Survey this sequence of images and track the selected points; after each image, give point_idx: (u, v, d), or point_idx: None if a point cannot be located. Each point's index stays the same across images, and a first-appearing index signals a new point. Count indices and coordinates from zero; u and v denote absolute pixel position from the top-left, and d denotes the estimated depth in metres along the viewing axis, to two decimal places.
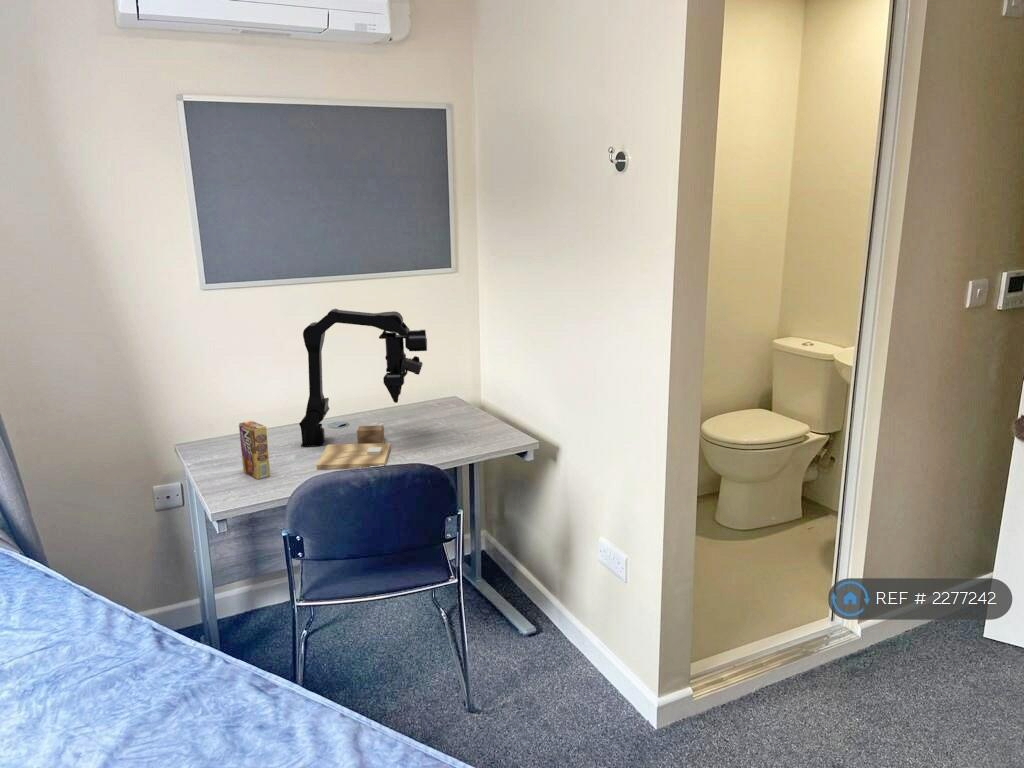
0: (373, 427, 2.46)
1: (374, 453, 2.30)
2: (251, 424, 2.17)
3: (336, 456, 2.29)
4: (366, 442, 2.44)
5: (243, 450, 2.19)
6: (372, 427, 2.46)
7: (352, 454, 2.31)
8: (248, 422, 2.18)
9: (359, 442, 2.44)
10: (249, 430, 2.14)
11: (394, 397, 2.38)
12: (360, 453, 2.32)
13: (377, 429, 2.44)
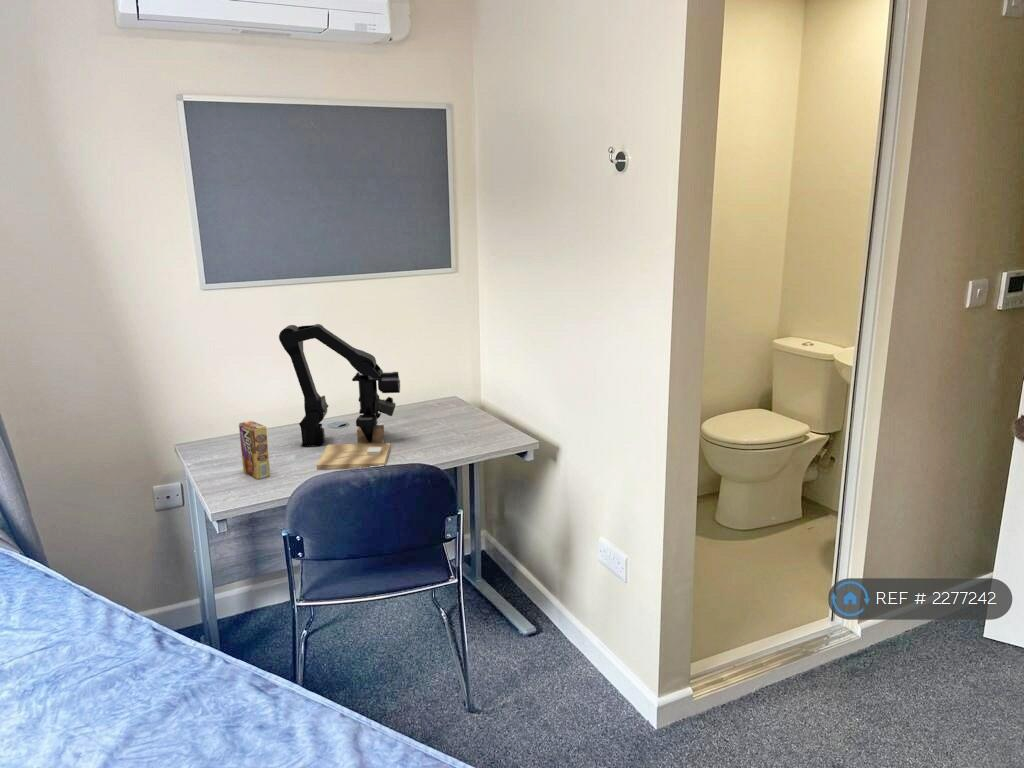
0: (373, 427, 2.46)
1: (374, 453, 2.30)
2: (251, 424, 2.17)
3: (336, 456, 2.29)
4: (366, 441, 2.44)
5: (243, 450, 2.19)
6: None
7: (352, 454, 2.31)
8: (248, 422, 2.18)
9: (359, 441, 2.44)
10: (249, 430, 2.14)
11: (368, 437, 2.43)
12: (360, 453, 2.32)
13: (377, 429, 2.44)
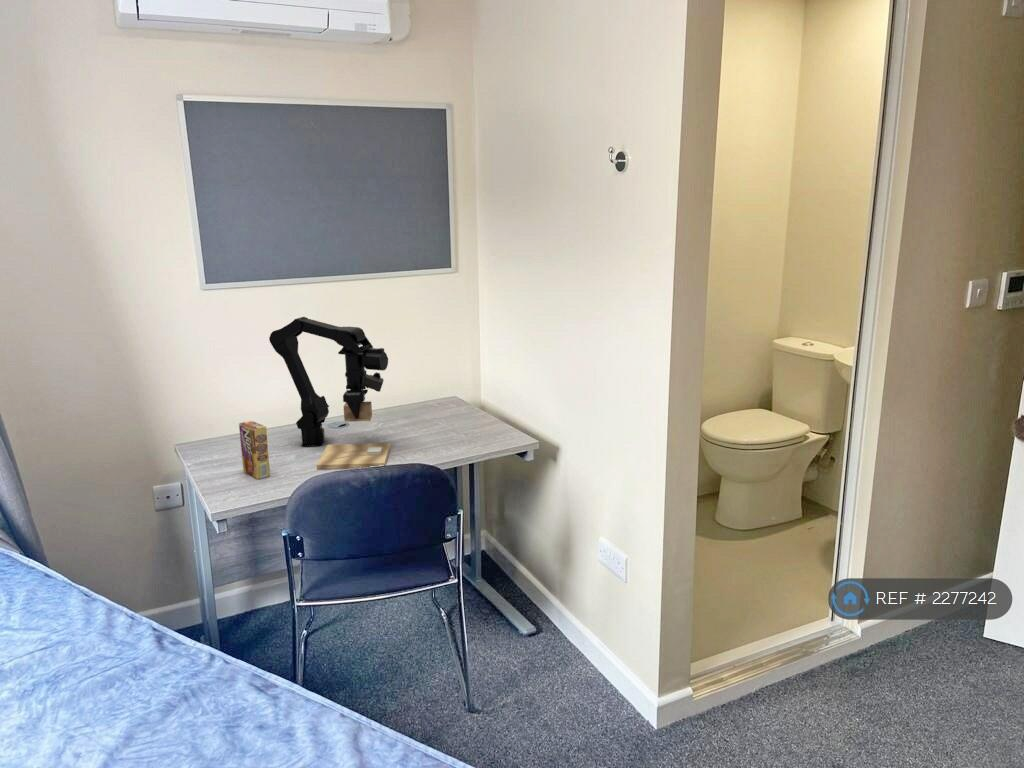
0: None
1: (374, 453, 2.30)
2: (251, 424, 2.17)
3: (336, 456, 2.29)
4: (353, 418, 2.36)
5: (243, 450, 2.19)
6: None
7: (352, 454, 2.31)
8: (248, 422, 2.18)
9: (346, 418, 2.36)
10: (249, 430, 2.14)
11: (355, 413, 2.34)
12: (360, 453, 2.32)
13: (364, 405, 2.36)
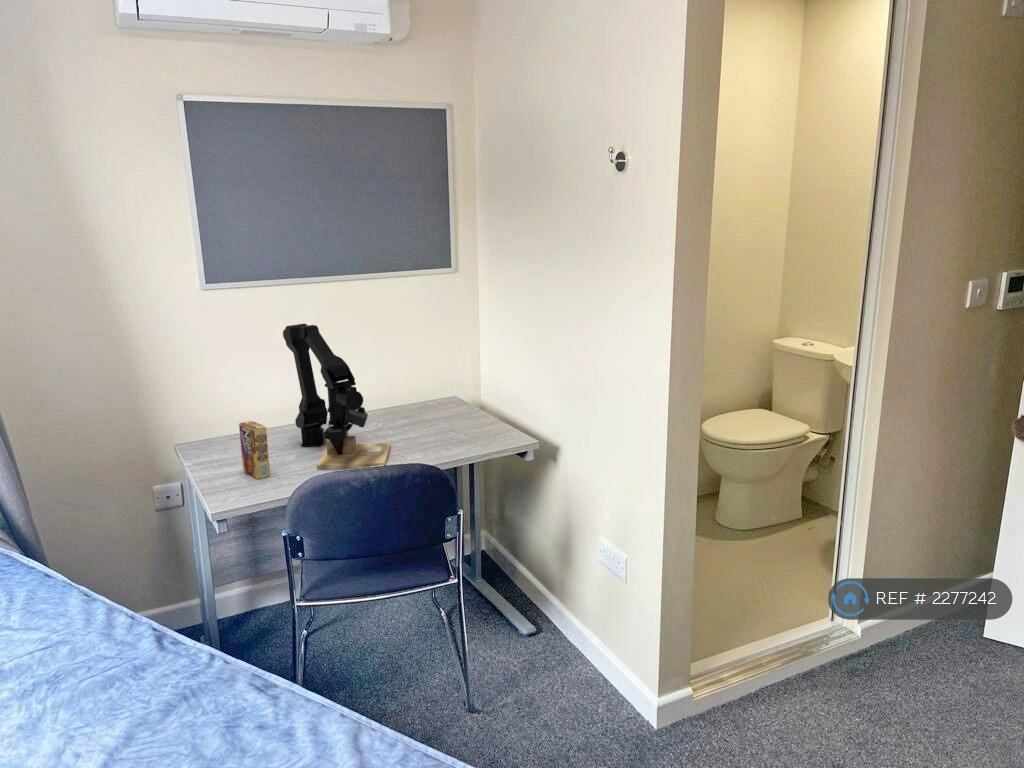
0: None
1: (374, 453, 2.30)
2: (251, 424, 2.17)
3: None
4: (336, 454, 2.29)
5: (243, 450, 2.19)
6: None
7: None
8: (248, 422, 2.18)
9: (329, 453, 2.29)
10: (249, 430, 2.14)
11: (338, 449, 2.28)
12: (360, 453, 2.32)
13: (348, 440, 2.29)
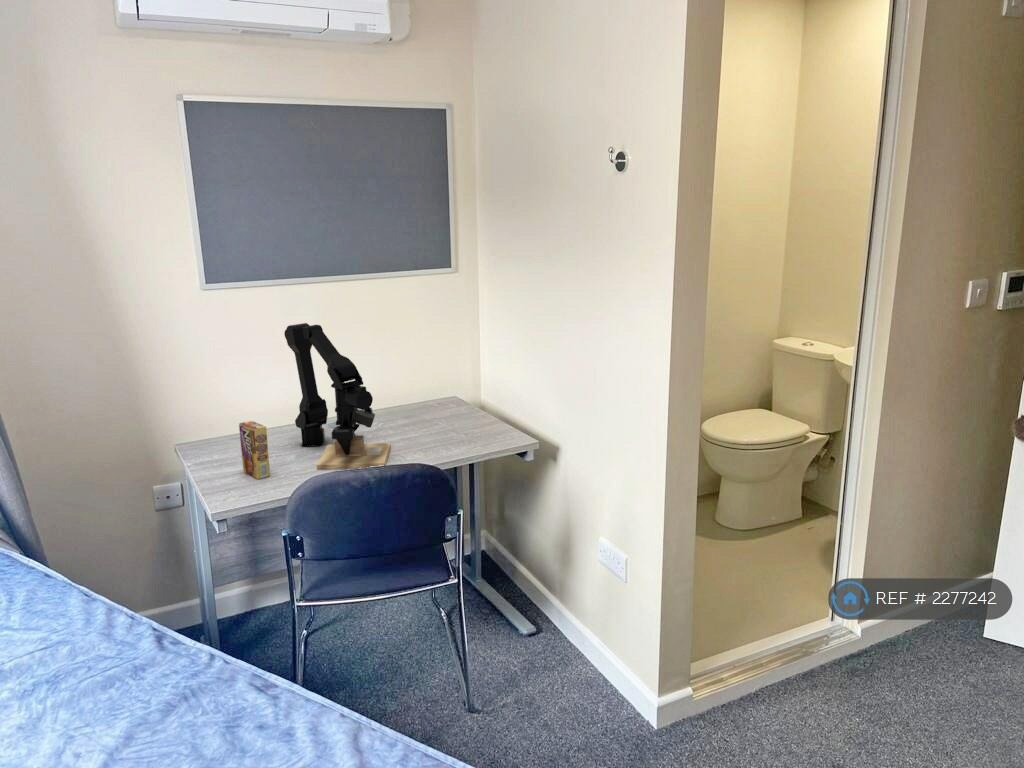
0: None
1: (374, 453, 2.30)
2: (251, 424, 2.17)
3: None
4: (344, 453, 2.29)
5: (243, 450, 2.19)
6: None
7: None
8: (248, 422, 2.18)
9: (337, 453, 2.29)
10: (249, 430, 2.14)
11: (345, 449, 2.28)
12: None
13: (356, 439, 2.29)
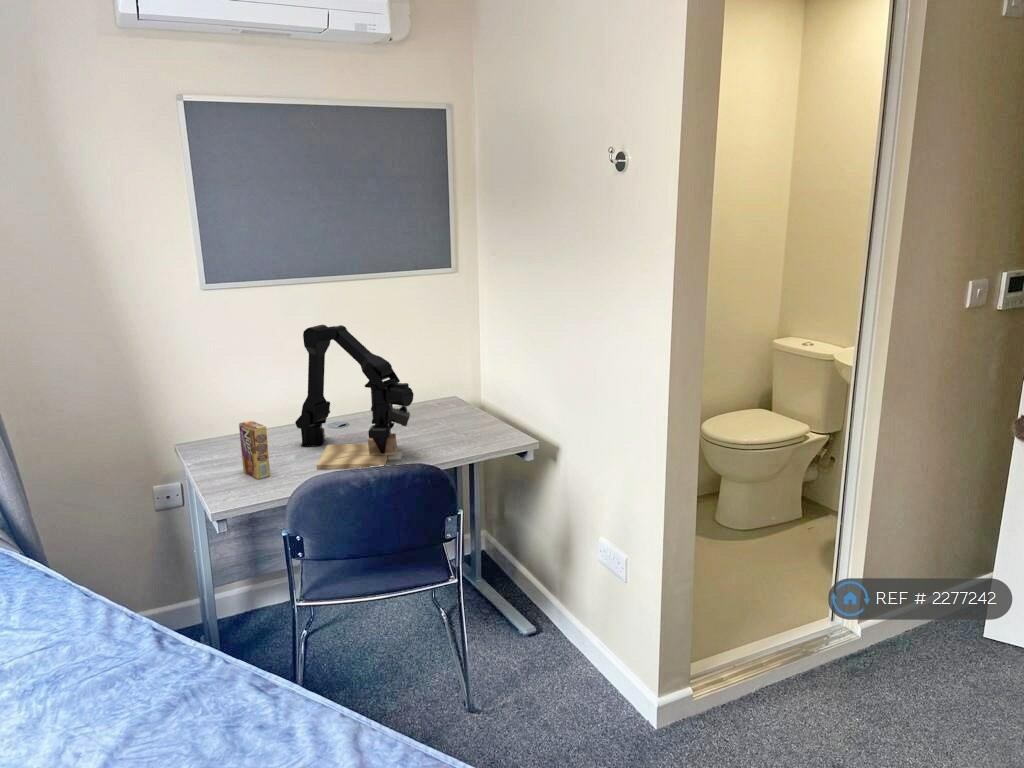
0: None
1: None
2: (251, 424, 2.17)
3: (336, 456, 2.29)
4: (378, 452, 2.29)
5: (243, 450, 2.19)
6: None
7: (352, 454, 2.31)
8: (248, 422, 2.18)
9: (371, 453, 2.29)
10: (249, 430, 2.14)
11: (381, 448, 2.28)
12: (360, 453, 2.32)
13: (389, 438, 2.29)
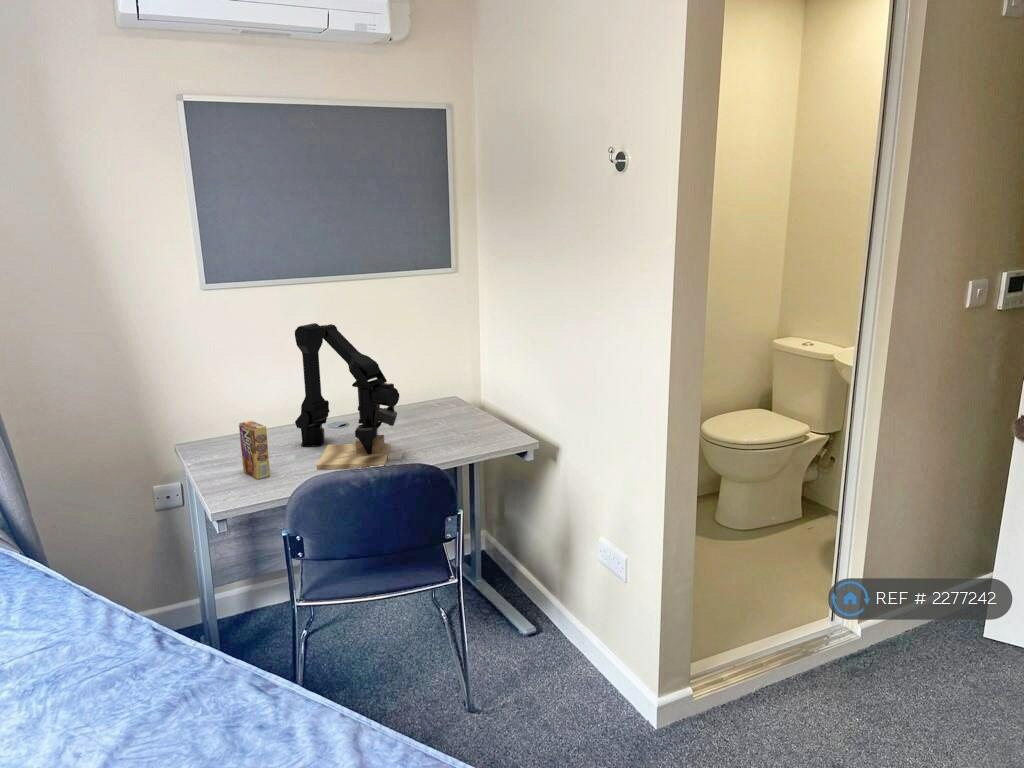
0: None
1: None
2: (251, 424, 2.17)
3: (336, 456, 2.29)
4: (365, 453, 2.29)
5: (243, 450, 2.19)
6: None
7: (352, 454, 2.31)
8: (248, 422, 2.18)
9: (358, 453, 2.29)
10: (249, 430, 2.14)
11: (367, 449, 2.27)
12: None
13: (377, 439, 2.29)
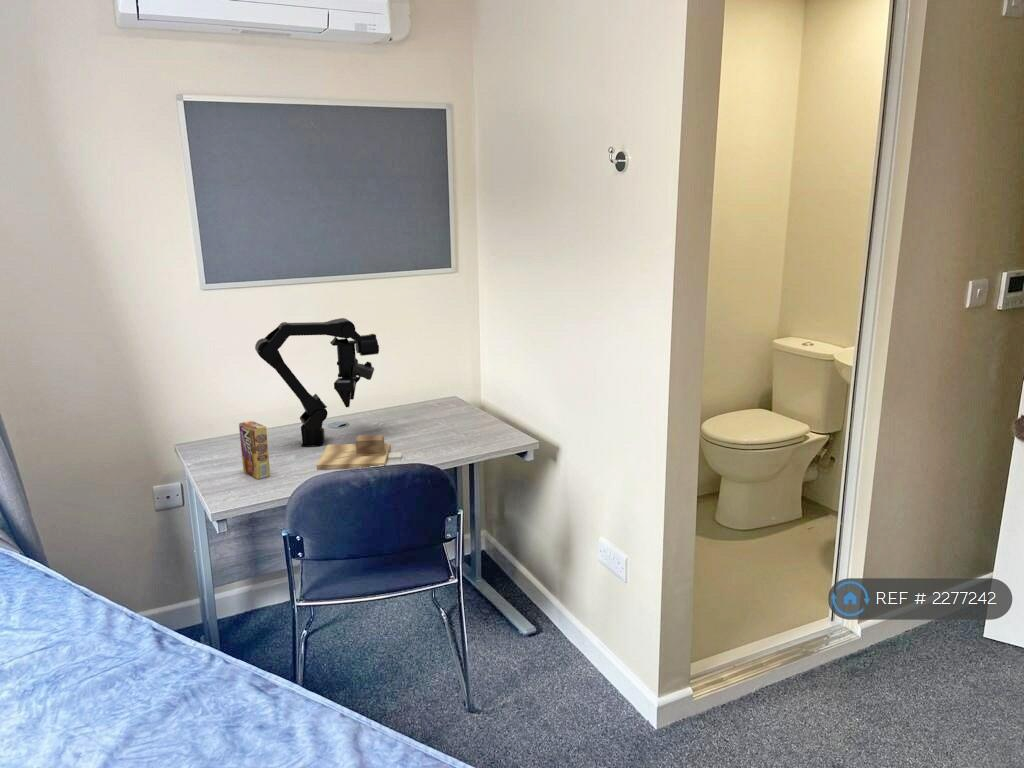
0: (373, 437, 2.31)
1: None
2: (251, 424, 2.17)
3: (336, 456, 2.29)
4: (365, 453, 2.29)
5: (243, 450, 2.19)
6: (372, 437, 2.31)
7: (352, 454, 2.31)
8: (248, 422, 2.18)
9: (358, 453, 2.29)
10: (249, 430, 2.14)
11: (345, 402, 2.43)
12: None
13: (377, 439, 2.29)
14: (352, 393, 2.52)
